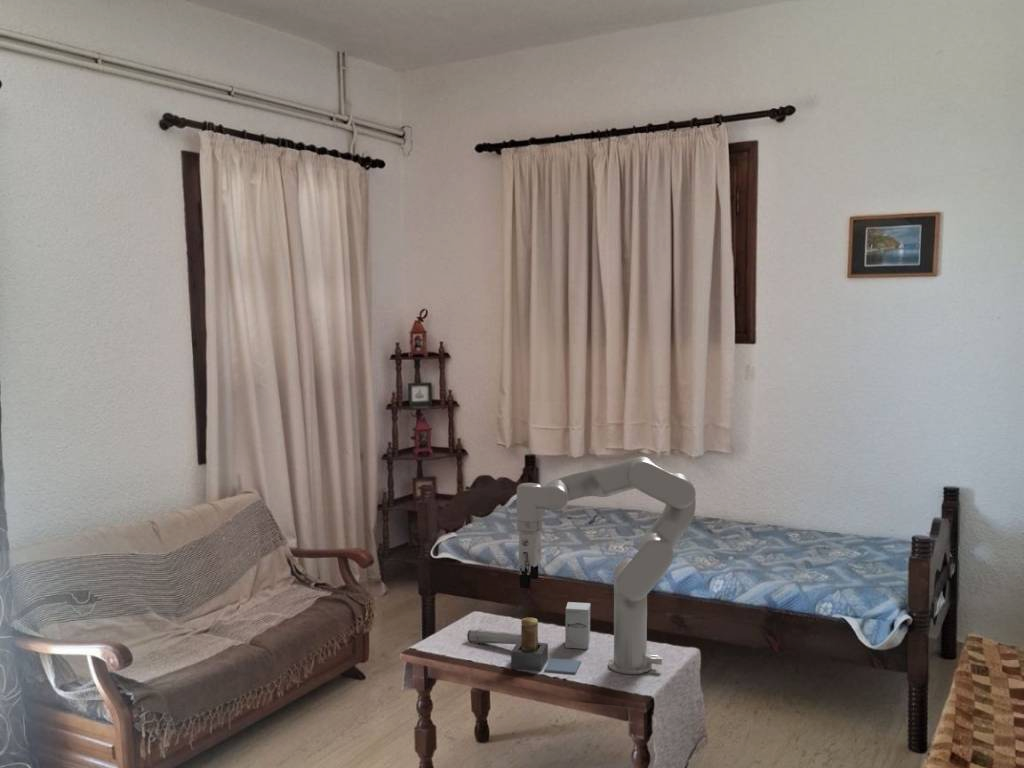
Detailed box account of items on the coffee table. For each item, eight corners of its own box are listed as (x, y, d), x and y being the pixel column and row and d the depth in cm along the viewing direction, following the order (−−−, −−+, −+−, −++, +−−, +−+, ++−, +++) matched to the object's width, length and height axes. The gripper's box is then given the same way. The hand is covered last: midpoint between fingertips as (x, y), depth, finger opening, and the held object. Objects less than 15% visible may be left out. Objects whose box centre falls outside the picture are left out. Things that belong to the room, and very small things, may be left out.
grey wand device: (474, 626, 280) (542, 628, 267) (476, 647, 280) (545, 650, 267) (465, 631, 275) (534, 633, 263) (467, 652, 275) (537, 656, 263)
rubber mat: (580, 662, 258) (580, 660, 258) (575, 674, 250) (575, 672, 250) (551, 660, 261) (551, 658, 261) (544, 671, 252) (544, 669, 252)
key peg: (539, 661, 259) (539, 618, 259) (535, 667, 255) (535, 623, 254) (523, 660, 261) (523, 616, 260) (519, 666, 256) (519, 622, 255)
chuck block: (547, 659, 261) (547, 643, 261) (541, 671, 252) (541, 654, 252) (518, 657, 263) (518, 640, 263) (511, 668, 254) (511, 651, 254)
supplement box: (564, 648, 270) (564, 608, 270) (567, 640, 278) (567, 601, 277) (588, 649, 269) (588, 609, 268) (590, 641, 276) (590, 602, 276)
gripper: (535, 533, 246) (535, 592, 247) (548, 520, 263) (547, 576, 264) (509, 531, 248) (509, 590, 249) (523, 518, 265) (523, 574, 266)
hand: (529, 583), depth 256 cm, fingers open, 9 cm apart
